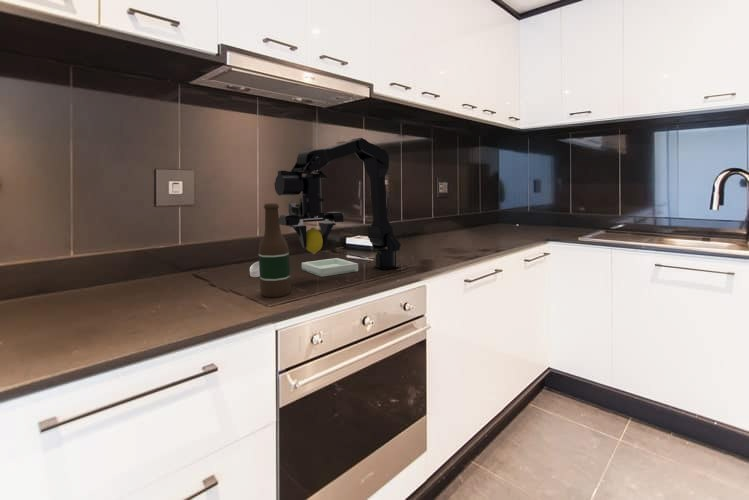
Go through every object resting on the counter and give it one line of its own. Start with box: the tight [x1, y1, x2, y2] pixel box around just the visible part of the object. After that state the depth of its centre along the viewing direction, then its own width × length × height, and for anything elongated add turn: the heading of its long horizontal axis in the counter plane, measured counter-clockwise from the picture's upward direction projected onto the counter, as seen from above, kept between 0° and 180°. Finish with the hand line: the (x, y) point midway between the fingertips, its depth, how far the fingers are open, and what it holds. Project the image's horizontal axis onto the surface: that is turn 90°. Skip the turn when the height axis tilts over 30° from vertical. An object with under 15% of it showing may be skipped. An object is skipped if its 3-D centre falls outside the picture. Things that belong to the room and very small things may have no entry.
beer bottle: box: [258, 202, 292, 298], centre depth 107 cm, size 8×8×24 cm
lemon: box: [306, 227, 323, 255], centre depth 121 cm, size 6×6×8 cm
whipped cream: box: [249, 261, 260, 278], centre depth 132 cm, size 8×7×5 cm
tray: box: [301, 257, 359, 278], centre depth 138 cm, size 14×14×2 cm
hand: (313, 247), depth 121 cm, fingers closed on lemon, 5 cm apart
